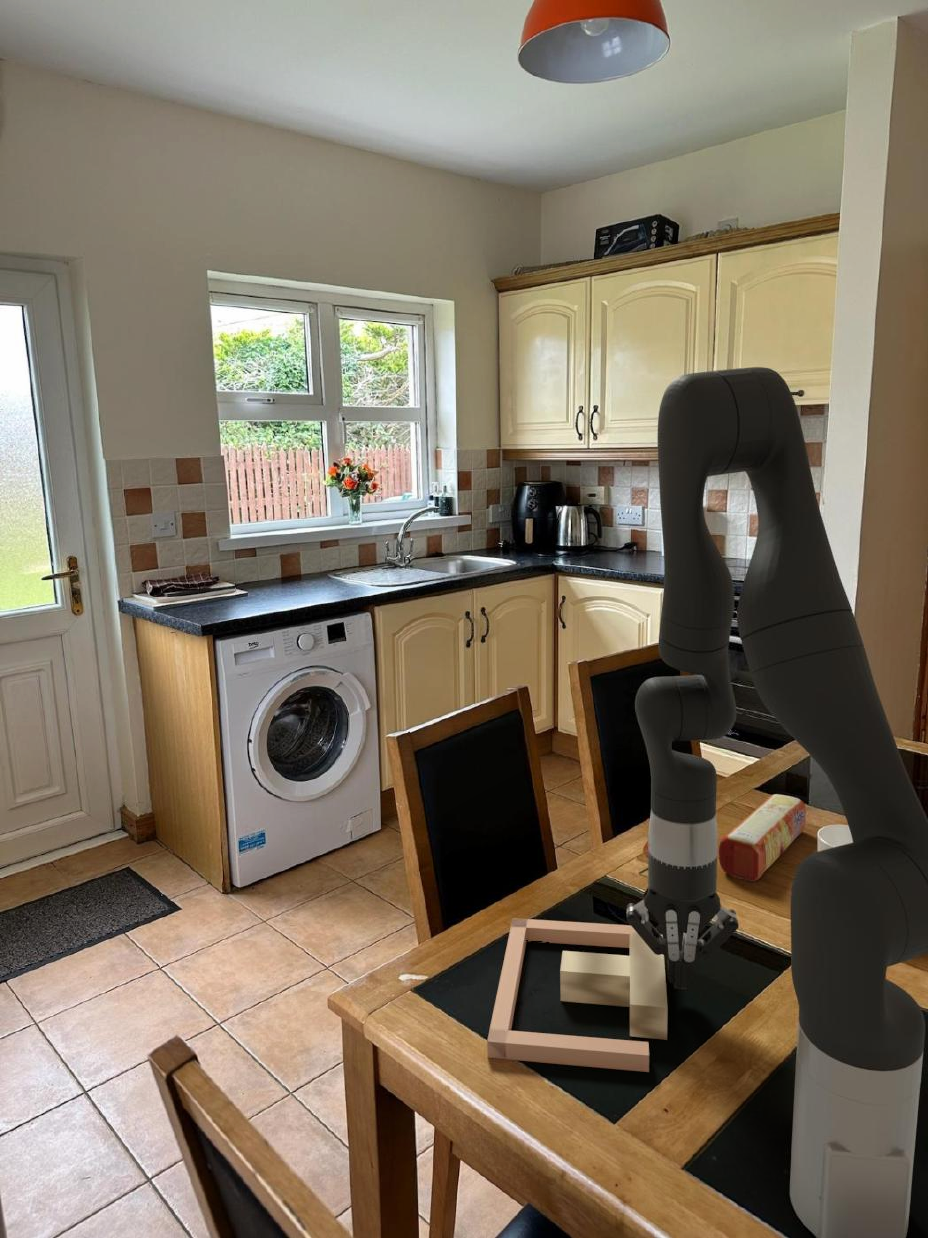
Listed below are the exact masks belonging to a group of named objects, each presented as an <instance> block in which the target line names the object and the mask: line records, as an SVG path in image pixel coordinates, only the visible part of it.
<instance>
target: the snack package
mask: <svg viewBox="0 0 928 1238" xmlns="http://www.w3.org/2000/svg"><path fill="white" fill-rule="evenodd" d="M806 815H807V810H806V804H805V802H804V801H803V800H801V799H800V798H798V797H795V796H791V795H785V794H781V793H779V794H778V793H776V794H775V793H774V794H771V795H770V796H769V797H767V799H766V800H764V802H763V803H762V804H761V805H760V806H758V807H757V808H756V809H755V810H754V811H752V812H751V813H750V814H749V815H748V816H746V817H745V818H744V819H743V821H741V822H740V823H739V824H738V825H736V826H735V827H734V828H733V829H732V830H731V831H730V832H728V833H727V834H725V835H724V836H723V837H721V838H722V839H721V840H720V841H719V843H718V847H717V856H718V860H719V862H718V863H719V865H720V868H721V869H722V871H723V872H724V873H726V874H727V875H730V876H731V877H734V878H736V877H737V879H740V880H743V879H745V880H744V881H747V880H749V882H754V881H757V880H759V879H760V878H762V875H763V874H764V873H765V872H766V871H767V870H768V869H769V867H771V866H772V865H773V864H774V863H775V862H776V861H777V859H779V857H780V856H781V855H782V854H783V853H784V852H785V851H786V849H787V848H788V847H789V846H790V845H791V844H792V843H793V841H795V840H796V838H798V837H799V836H800V835H801V834H802V833H803V832H804V831H805V829H806V822H807V820H806V818H807V816H806Z"/></svg>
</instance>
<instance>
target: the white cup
mask: <svg viewBox="0 0 928 1238" xmlns="http://www.w3.org/2000/svg"><path fill="white" fill-rule="evenodd" d="M816 835H817V836H816V837H817V845H816V846H817V852H819V851H822V850H826V849H830V848H834V847H838V846H841V845H845V844H849V843H853V840H852V836H851V832H850V829H849V826H848V824H829V825H825V826H823V827H821V828H820V829H818V831H817V834H816Z"/></svg>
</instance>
